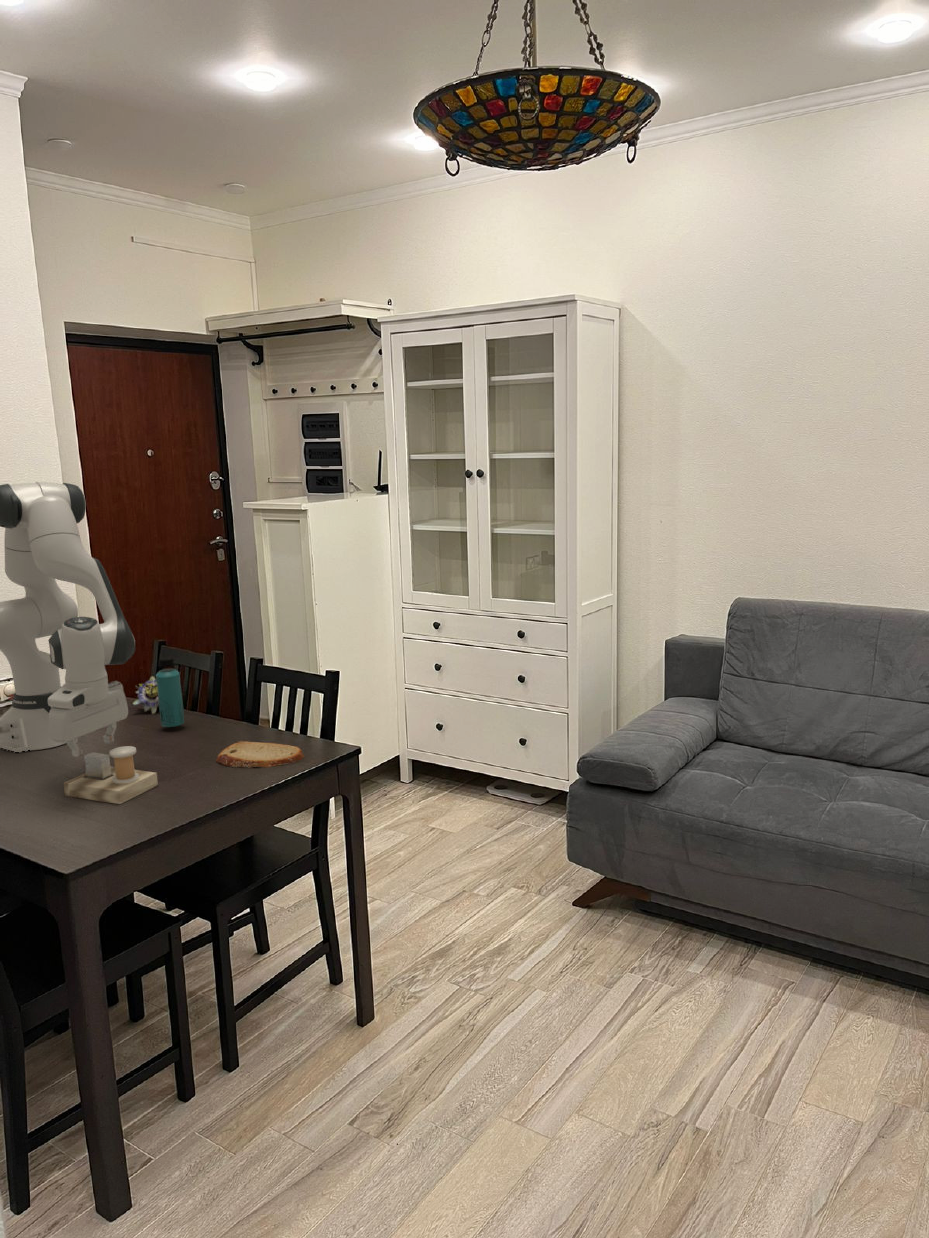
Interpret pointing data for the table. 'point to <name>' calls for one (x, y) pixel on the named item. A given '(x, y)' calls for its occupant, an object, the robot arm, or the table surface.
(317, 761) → the table surface
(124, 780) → the bobbin
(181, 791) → the table surface
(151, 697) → the passion flower
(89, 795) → the slot board
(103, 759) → the metal tab
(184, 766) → the table surface
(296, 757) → the slice of bread
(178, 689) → the beverage bottle
